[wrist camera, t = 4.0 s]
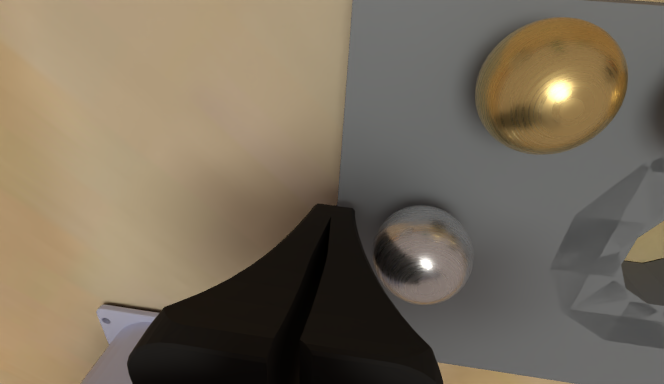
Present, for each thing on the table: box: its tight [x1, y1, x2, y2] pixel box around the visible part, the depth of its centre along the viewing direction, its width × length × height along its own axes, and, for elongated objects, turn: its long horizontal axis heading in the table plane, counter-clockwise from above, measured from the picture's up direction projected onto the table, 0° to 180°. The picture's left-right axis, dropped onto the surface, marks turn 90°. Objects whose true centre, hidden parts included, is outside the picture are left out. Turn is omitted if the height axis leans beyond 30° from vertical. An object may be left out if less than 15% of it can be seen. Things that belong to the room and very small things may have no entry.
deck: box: [337, 0, 664, 384], centre depth 14 cm, size 18×15×2 cm
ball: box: [372, 205, 473, 305], centre depth 12 cm, size 3×3×3 cm
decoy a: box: [475, 17, 628, 155], centre depth 9 cm, size 3×3×3 cm
